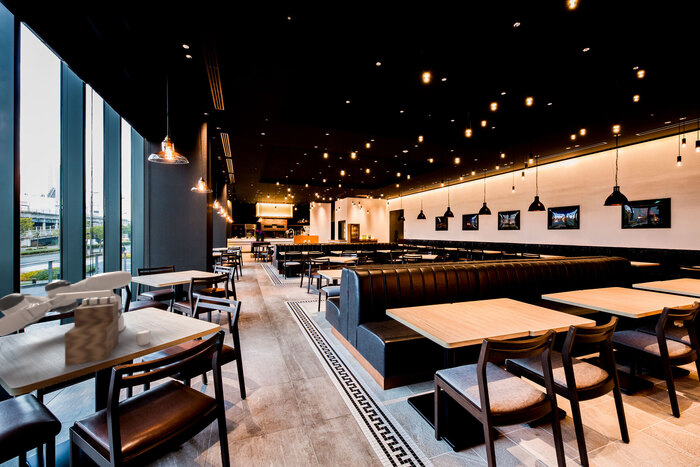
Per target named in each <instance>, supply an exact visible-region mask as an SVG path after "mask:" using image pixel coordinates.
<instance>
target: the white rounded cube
mask: <svg viewBox="0 0 700 467" xmlns="http://www.w3.org/2000/svg"><path fill="white" fill-rule="evenodd" d="M135 335H136V341H137V346H144V345H148V344H149V343H150V340H151V329H141V330H139V331H136V333H135Z"/></svg>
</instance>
